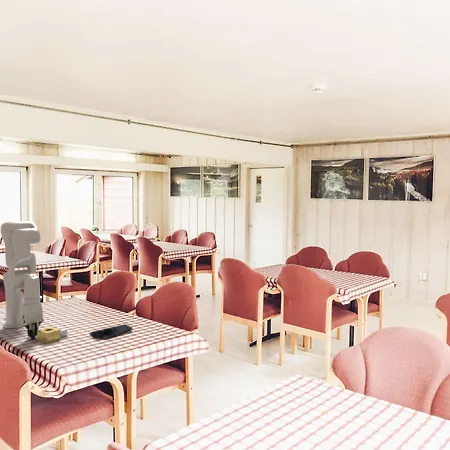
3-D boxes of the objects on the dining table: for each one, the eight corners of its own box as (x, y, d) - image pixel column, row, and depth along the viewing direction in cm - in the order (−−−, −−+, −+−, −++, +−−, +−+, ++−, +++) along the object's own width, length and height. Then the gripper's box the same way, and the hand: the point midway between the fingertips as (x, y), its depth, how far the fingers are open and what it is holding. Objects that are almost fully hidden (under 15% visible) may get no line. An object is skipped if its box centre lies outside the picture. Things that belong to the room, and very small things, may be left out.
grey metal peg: (29, 338, 248) (29, 322, 247) (33, 337, 250) (33, 321, 249) (32, 339, 246) (31, 323, 246) (36, 337, 248) (36, 322, 248)
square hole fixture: (26, 340, 248) (25, 328, 248) (51, 333, 261) (50, 322, 260) (48, 347, 238) (47, 334, 238) (72, 339, 251) (72, 327, 250)
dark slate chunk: (136, 332, 266) (136, 323, 265) (102, 341, 249) (102, 332, 249) (119, 327, 276) (119, 319, 275) (85, 335, 259) (85, 327, 259)
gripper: (41, 297, 256) (42, 331, 257) (13, 302, 242) (14, 338, 244) (50, 298, 251) (50, 333, 253) (22, 304, 238) (23, 341, 239)
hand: (32, 335), depth 248 cm, fingers closed on grey metal peg, 2 cm apart
